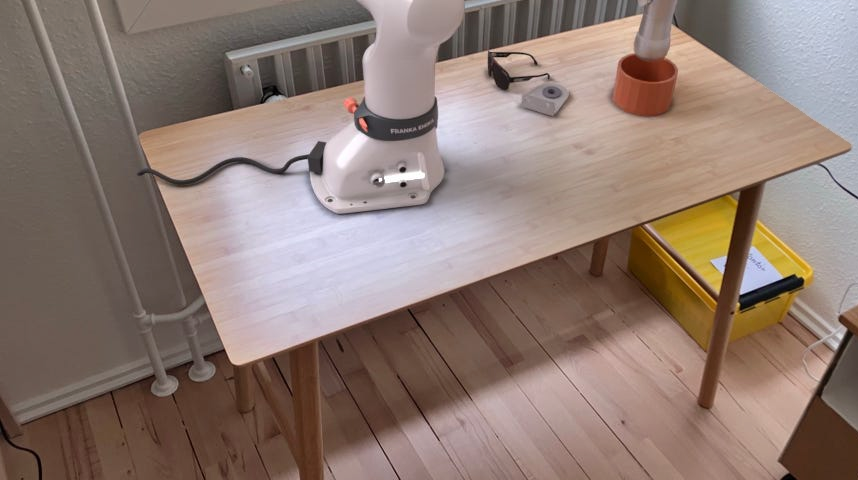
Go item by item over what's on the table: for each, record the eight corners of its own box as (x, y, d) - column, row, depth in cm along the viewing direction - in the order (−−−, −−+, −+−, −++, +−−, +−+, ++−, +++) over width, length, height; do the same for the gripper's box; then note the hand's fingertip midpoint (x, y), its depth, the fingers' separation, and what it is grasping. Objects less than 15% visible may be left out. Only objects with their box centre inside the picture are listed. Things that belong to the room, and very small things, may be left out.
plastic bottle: (624, 53, 156) (642, -53, 142) (653, 45, 158) (674, -59, 144) (644, 69, 152) (665, -38, 138) (674, 61, 154) (698, -45, 140)
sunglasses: (478, 69, 167) (481, 46, 164) (530, 65, 172) (535, 43, 169) (499, 95, 160) (504, 72, 157) (553, 91, 165) (559, 68, 162)
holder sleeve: (632, 120, 156) (638, 88, 151) (602, 90, 163) (607, 58, 158) (682, 109, 160) (689, 76, 155) (650, 80, 167) (656, 48, 162)
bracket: (573, 93, 162) (575, 77, 160) (552, 118, 156) (554, 102, 153) (542, 83, 164) (544, 68, 162) (520, 108, 158) (522, 92, 155)
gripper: (599, -74, 139) (625, 6, 140) (694, -93, 147) (718, -17, 148) (581, -57, 145) (606, 19, 146) (673, -76, 153) (696, -4, 154)
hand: (663, 1), depth 147 cm, fingers closed on plastic bottle, 6 cm apart
